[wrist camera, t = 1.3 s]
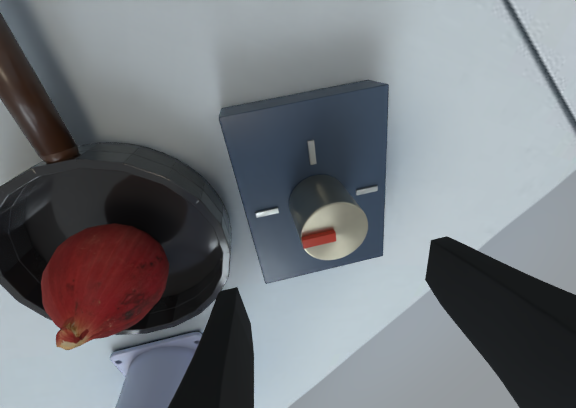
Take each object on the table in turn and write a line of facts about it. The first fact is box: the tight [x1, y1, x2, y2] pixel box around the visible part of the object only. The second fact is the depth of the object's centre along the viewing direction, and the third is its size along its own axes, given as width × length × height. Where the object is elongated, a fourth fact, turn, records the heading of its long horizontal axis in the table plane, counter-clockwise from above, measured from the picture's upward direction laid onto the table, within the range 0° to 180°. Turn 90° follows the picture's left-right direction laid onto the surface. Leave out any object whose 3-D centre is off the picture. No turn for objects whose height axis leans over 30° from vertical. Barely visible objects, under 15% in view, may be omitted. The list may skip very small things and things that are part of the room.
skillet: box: [0, 143, 231, 335], centre depth 17 cm, size 13×13×3 cm
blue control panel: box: [219, 80, 389, 284], centre depth 18 cm, size 12×9×3 cm
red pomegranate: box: [41, 223, 169, 350], centre depth 15 cm, size 6×6×8 cm
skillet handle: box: [0, 13, 79, 163], centre depth 11 cm, size 9×2×2 cm, turn 9°
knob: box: [289, 175, 368, 260], centre depth 15 cm, size 4×4×4 cm
